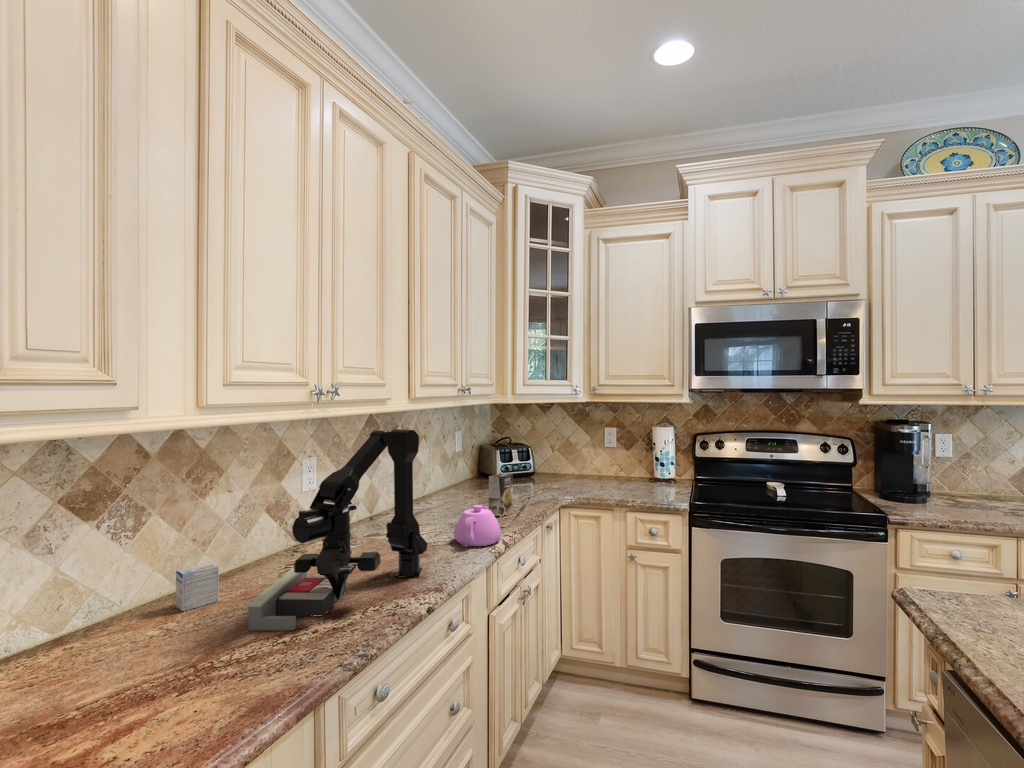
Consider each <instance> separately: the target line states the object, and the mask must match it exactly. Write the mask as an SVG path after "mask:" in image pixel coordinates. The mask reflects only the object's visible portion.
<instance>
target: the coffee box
mask: <svg viewBox="0 0 1024 768" xmlns="http://www.w3.org/2000/svg"><path fill="white" fill-rule="evenodd" d="M488 510H490V511H491V512H492V513H493V514H494V515H498V516H502V515H505V514H508V513H510V512H513V513H514V474H511V473H497V474H492V475H489V476H488Z"/></svg>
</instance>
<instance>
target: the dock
mask: <svg viewBox="0 0 1024 768" xmlns="http://www.w3.org/2000/svg"><path fill="white" fill-rule="evenodd" d="M307 573H308V572H305V573H295V572H294V566H293V567H292V568H291V569H289V570H288V571H287V572H286V573H284V574H283V575H282V576H281V577H280V578H279V579H277V580H276V581H275V582H274V583H272V584H271V585H269V587H268V588H267V589H265V590H264V591H262V593H260V594H259V595H258V596H256V597H255V598H254V599H253V600H251V601H250V602H249V603H248V604H247V606H248V623H247V624H248V631H295V630H296V628H297V616H276V602H277V599H278V598H280V597H281V596H282V595H284V594H285V593H287V591H288V590H289V589H291V588H292V587H294V586H295V585H296V584H298V583H299V582H300V581H302V580H303V579H322V581H323V580H324V579H327V578H326V577H325V576H323V575H317V576H316V575H315V576H309V575H308V574H307ZM307 575H308V576H307Z"/></svg>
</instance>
